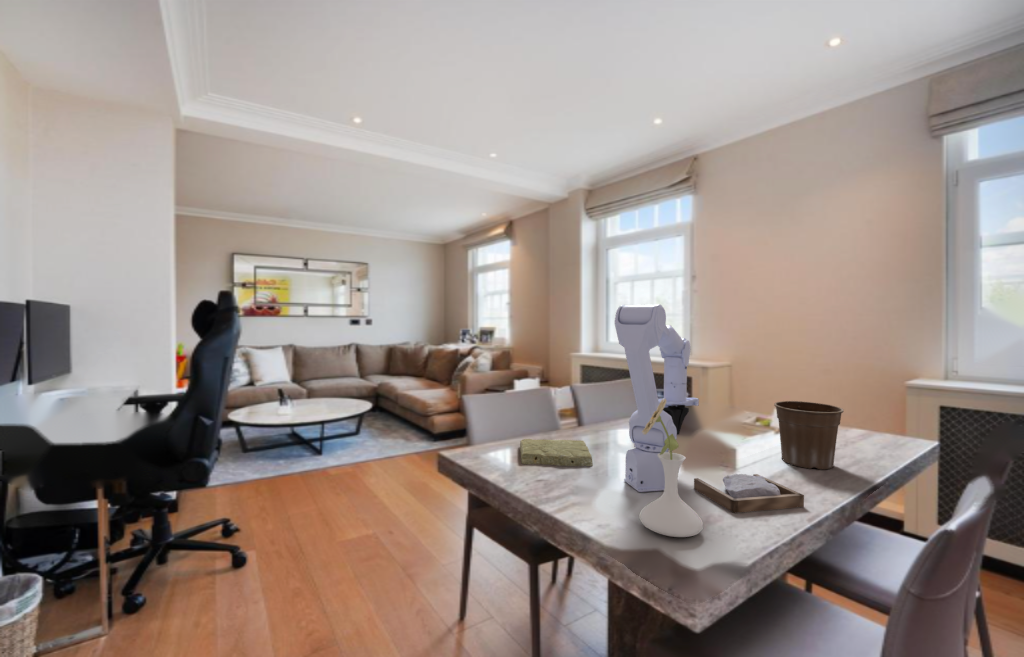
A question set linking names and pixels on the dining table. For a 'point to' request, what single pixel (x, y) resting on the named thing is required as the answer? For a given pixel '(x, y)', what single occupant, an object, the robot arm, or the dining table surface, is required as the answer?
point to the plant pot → (808, 433)
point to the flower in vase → (669, 493)
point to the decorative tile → (555, 452)
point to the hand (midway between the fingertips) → (674, 433)
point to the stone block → (749, 486)
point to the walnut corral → (752, 498)
